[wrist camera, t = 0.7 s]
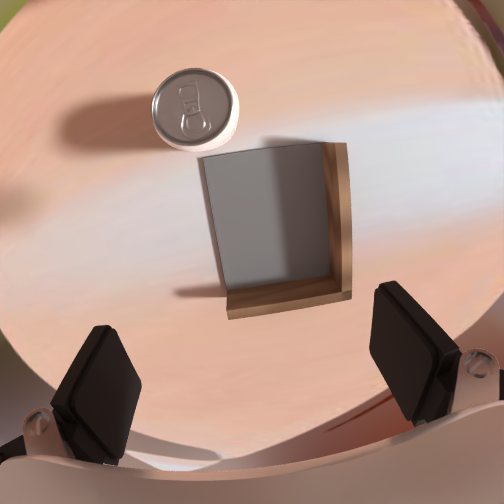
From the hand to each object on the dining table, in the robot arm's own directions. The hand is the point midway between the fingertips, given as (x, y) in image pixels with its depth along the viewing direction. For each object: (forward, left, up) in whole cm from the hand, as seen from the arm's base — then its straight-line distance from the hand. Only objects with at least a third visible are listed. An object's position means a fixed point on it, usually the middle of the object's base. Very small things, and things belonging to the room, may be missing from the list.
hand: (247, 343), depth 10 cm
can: (-10, -2, -24) cm, 26 cm away
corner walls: (+3, +4, -24) cm, 24 cm away
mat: (+3, +4, -24) cm, 24 cm away
